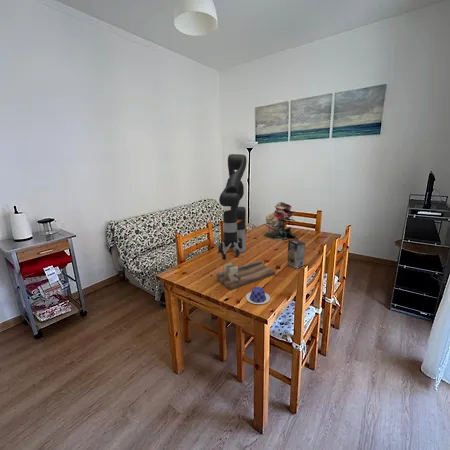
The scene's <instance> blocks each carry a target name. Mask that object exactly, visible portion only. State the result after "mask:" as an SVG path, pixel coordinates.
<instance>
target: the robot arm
mask: <svg viewBox="0 0 450 450" xmlns="http://www.w3.org/2000/svg"><path fill="white" fill-rule="evenodd" d="M247 162H248V161H247V156H246V155H245V154H240V153H239V154H238V153H232V154H231V153H230V154H229V155H228V156H227V169H228V176H229V177H228V179H227V181H226V183H225V187H224V189H223V191H222V192H221V193H220V196H219V200H218V202H219V204H220V206H222V207H230V209H228V210H225V211H224V212H223V214H222V215H223V217H222V218H223V225H222V228H223V229H222V233H223V234H222V235H223V241H218V253H219V254H221V259H222V260H223V261H226V260H227V254H226V253H227V251H229V250H230V249H232V250H233V252H234V253H235V256H236V257H240V253H244V252H246V250H247V249H246V243H247V241H246V237H247V236H246V234H247V231H246V218H247V217H246V216H247V215H246V213H247V210H246V207H245V206H239V204H240V201H241V200H242V199H243V196H244V194H245V192H244V191H245V188H244V187H245V186H244V183H243V182H242V178H243V176H244V173H245V170H246V167H247ZM238 220H240V221H238Z"/></svg>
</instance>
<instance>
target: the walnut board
mask: <svg viewBox="0 0 450 450" xmlns="http://www.w3.org/2000/svg"><path fill="white" fill-rule="evenodd" d="M237 267H238V266H237ZM276 273H277V272H276V270H274V269H272V268H271V267H269V266H267V265H265V264H263V261H262V260H258V261H254V262H250V263H247V264H245V265H240V266H239V267H238V276H239V277H240V278H241V279H240V280H239V281H238V279H236V280H233V281H230V280H229V279H228V278H226V277H225V276H224V271H222V272H218V273H217V274H216V278H217V279H216V280H217V281H218V282H219V283H220V284H222V285H223V286H225V287H226V288H227V289H228V290H230V291H232V290H236V289H238V288H241V287H243V286H246V285H250V284H251V283H255V282H258V281H261V280H263V279H266V278H269V277H271V276H275V275H276Z"/></svg>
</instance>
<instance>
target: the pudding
mask: <svg viewBox="0 0 450 450" xmlns="http://www.w3.org/2000/svg"><path fill="white" fill-rule="evenodd" d="M245 298H246V301H248V302H249V303H251V304H253V305H264V304H267V303H269V302H270V300H271V296H270V295H269V294H268V293H267V292H265V290H264V288H263V287H261V286H254V287H252V289H251V291H250V292H248V293H247V294H246V295H245Z"/></svg>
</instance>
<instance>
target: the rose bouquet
mask: <svg viewBox="0 0 450 450" xmlns="http://www.w3.org/2000/svg"><path fill="white" fill-rule="evenodd" d="M274 208H275V210H274V212H273V213H268V214H267V215H266V216H265V227H266V228H267V230H268V229H269V230H268V231H267V232H266V231H265V233H264V236H265V237H266V238H267V237H268V238H271V239H273V240H280V241H283V240H290V238H289V237H287V236H291V237H294V239H297V240H299V237H298V236H296V235H295V234H292V231H291V229H292V227H291V226H290V227H287V228H286V227H285V223H287V222H289V221H292V222H296V220H295V219H293V218H292V217H293V215H294V213H296V211H292V210H291V209H292V205H290V204H287V203H285V202H283V201H280V202H277V204H276V205H275V206H274ZM271 230H273V232H271ZM276 231H277V232H276Z"/></svg>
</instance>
